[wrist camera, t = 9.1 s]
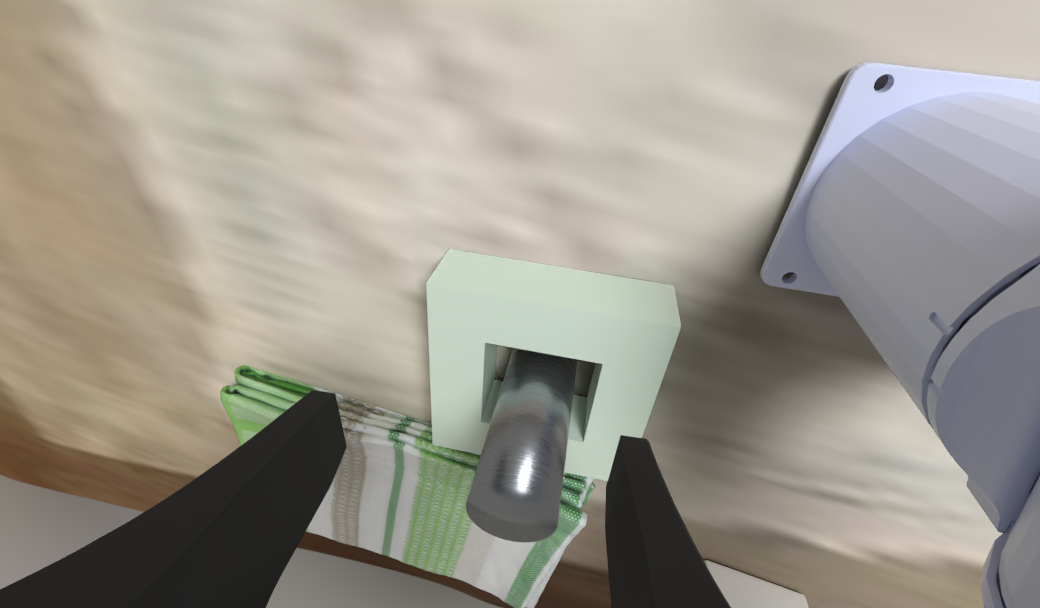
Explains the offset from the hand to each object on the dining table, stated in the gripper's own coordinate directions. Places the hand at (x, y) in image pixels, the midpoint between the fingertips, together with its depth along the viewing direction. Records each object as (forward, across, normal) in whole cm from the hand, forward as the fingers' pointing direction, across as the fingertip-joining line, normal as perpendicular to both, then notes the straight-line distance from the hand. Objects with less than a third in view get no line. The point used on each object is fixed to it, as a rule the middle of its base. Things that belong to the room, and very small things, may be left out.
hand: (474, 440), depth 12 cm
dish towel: (+12, +7, +20) cm, 24 cm away
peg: (+10, -1, +5) cm, 12 cm away
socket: (+10, -2, +5) cm, 12 cm away
